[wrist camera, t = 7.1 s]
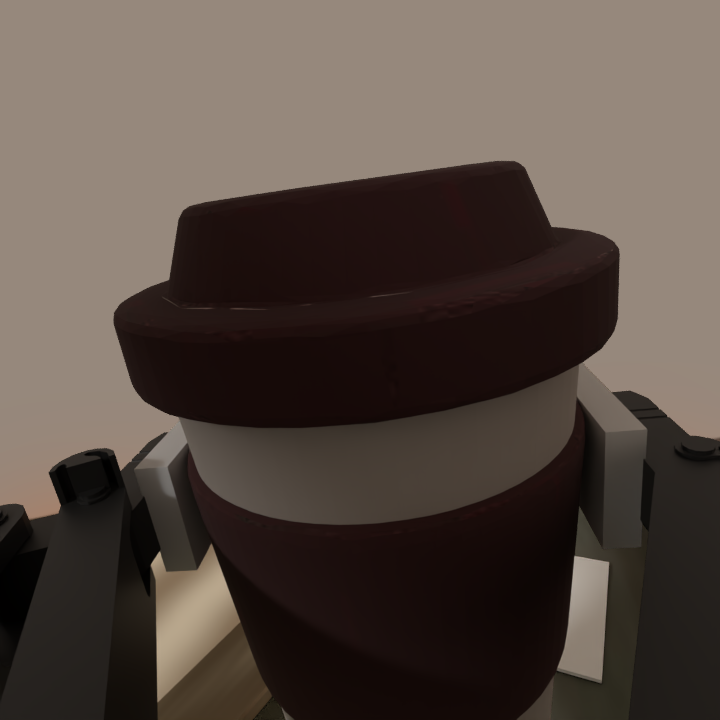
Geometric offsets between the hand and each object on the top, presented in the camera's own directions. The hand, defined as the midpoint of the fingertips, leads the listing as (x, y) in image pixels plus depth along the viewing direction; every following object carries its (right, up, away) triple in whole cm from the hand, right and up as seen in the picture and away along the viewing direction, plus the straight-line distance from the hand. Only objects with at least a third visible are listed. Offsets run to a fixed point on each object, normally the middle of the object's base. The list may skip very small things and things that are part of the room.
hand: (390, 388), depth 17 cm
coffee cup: (+1, -10, -1) cm, 10 cm away
